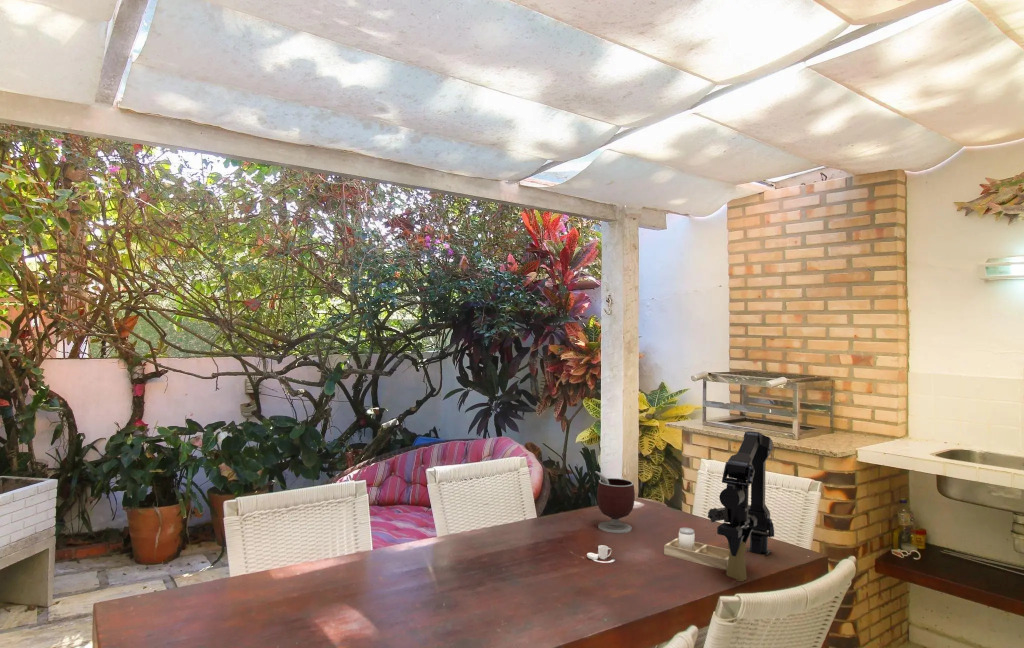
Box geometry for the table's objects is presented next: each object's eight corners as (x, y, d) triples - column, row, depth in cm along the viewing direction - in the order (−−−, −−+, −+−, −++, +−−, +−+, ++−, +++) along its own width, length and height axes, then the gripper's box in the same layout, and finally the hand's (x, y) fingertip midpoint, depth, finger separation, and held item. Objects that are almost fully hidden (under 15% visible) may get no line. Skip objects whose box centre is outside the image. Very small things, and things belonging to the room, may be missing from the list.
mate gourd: (639, 527, 241) (640, 473, 241) (625, 536, 229) (626, 480, 229) (601, 519, 249) (603, 468, 249) (585, 528, 237) (587, 474, 238)
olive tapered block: (748, 582, 189) (749, 544, 189) (727, 579, 190) (728, 542, 190) (745, 574, 195) (746, 538, 195) (724, 572, 196) (725, 536, 196)
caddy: (677, 548, 217) (677, 537, 217) (737, 562, 205) (737, 551, 205) (664, 556, 209) (664, 545, 209) (726, 572, 197) (726, 560, 197)
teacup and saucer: (584, 561, 203) (585, 548, 203) (591, 553, 211) (591, 541, 211) (612, 565, 200) (612, 552, 200) (617, 557, 207) (618, 545, 207)
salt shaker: (681, 550, 213) (682, 526, 214) (696, 554, 210) (697, 529, 211) (675, 554, 210) (676, 529, 210) (690, 557, 206) (691, 533, 207)
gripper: (722, 491, 205) (721, 540, 205) (700, 502, 190) (699, 555, 190) (758, 497, 198) (756, 548, 198) (738, 509, 184) (736, 564, 183)
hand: (736, 553), depth 193 cm, fingers closed on olive tapered block, 5 cm apart
